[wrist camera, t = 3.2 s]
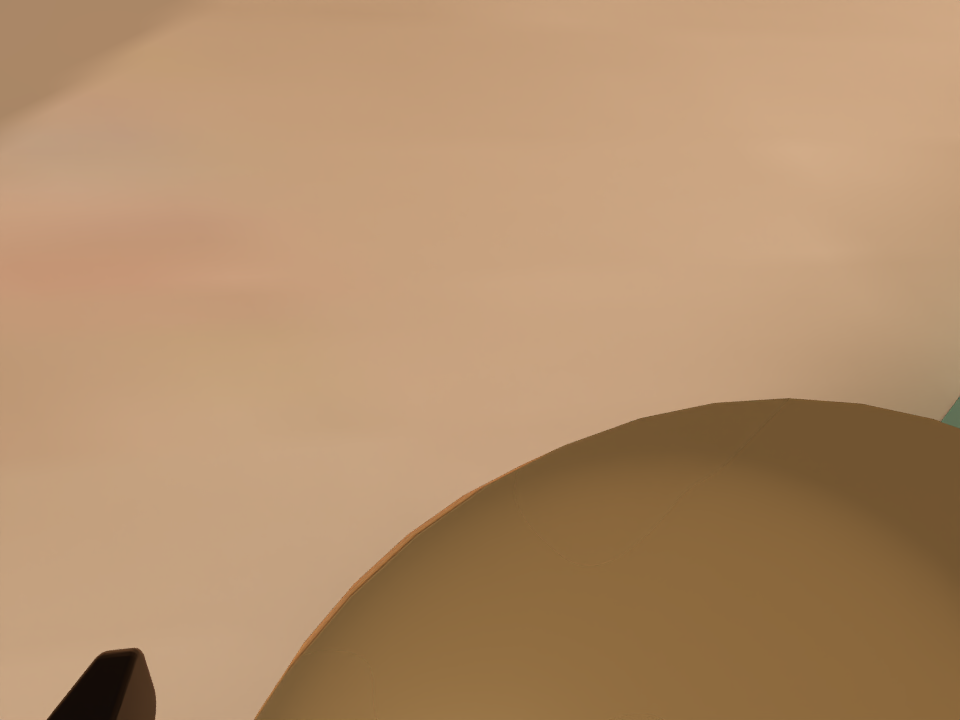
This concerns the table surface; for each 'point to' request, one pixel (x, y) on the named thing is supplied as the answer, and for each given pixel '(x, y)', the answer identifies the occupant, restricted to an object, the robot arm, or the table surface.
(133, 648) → the robot arm
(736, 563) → the metal peg
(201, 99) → the table surface
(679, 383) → the table surface
